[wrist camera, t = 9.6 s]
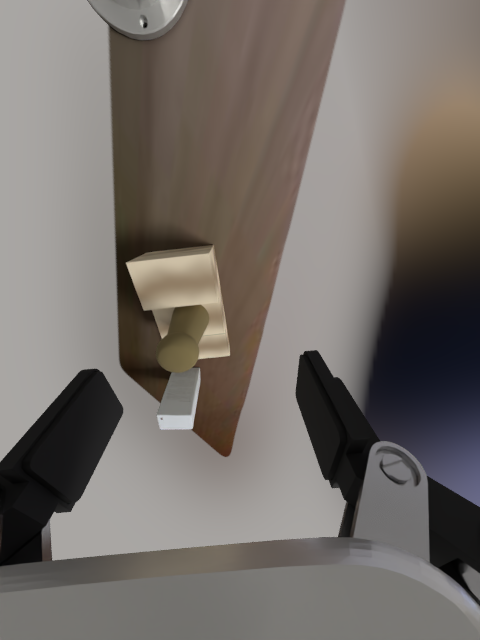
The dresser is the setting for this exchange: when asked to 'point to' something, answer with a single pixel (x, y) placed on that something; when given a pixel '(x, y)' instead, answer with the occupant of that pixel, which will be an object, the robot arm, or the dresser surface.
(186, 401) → the skincare box
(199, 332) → the cork
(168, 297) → the step stand
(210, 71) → the dresser surface
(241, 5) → the dresser surface
